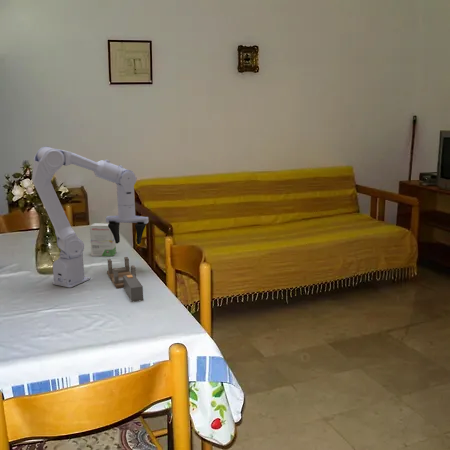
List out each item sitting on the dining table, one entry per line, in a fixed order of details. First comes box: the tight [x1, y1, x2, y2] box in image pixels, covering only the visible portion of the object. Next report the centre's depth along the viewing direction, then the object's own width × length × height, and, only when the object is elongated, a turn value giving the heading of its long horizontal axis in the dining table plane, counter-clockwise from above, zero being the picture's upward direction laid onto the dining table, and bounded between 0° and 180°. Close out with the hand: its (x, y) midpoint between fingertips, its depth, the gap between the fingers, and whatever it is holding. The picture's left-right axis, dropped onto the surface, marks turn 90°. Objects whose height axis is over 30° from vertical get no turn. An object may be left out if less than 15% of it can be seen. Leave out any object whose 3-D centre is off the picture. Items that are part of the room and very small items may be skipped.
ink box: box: [89, 222, 117, 257], centre depth 203 cm, size 9×5×12 cm, turn 84°
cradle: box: [106, 256, 137, 289], centre depth 176 cm, size 16×7×6 cm, turn 22°
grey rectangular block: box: [123, 274, 144, 303], centre depth 163 cm, size 12×4×5 cm, turn 21°
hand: (128, 243), depth 183 cm, fingers open, 7 cm apart
